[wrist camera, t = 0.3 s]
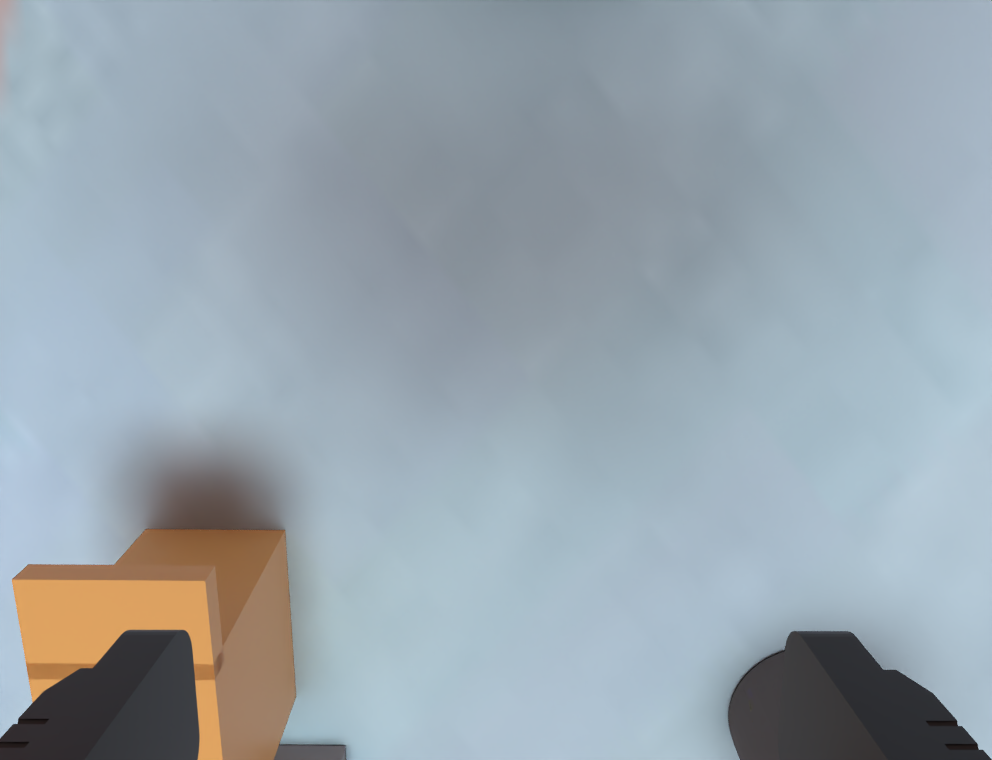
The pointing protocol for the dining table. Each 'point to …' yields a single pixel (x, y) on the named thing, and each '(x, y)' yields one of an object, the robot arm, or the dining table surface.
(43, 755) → the robot arm
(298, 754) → the green boxy vehicle
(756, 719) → the bottle
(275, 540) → the orange box
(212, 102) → the dining table surface
